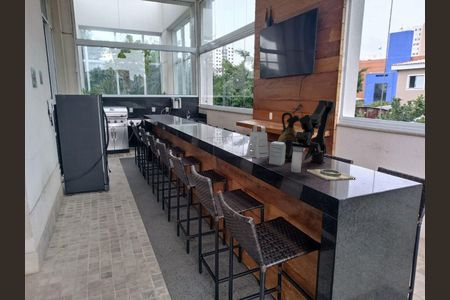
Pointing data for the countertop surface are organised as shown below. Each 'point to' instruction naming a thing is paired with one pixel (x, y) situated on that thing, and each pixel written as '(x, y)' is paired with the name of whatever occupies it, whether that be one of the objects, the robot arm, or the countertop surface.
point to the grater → (258, 143)
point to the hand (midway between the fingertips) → (296, 158)
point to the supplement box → (277, 153)
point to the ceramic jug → (288, 131)
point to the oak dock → (330, 174)
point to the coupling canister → (296, 159)
